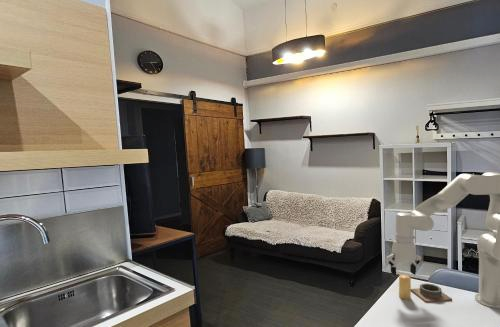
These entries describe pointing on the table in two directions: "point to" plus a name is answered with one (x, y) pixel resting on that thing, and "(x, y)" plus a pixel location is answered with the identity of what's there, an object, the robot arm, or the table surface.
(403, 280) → the pale yellow cylinder
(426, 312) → the table surface
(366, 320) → the table surface
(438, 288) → the mount plate
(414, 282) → the table surface
